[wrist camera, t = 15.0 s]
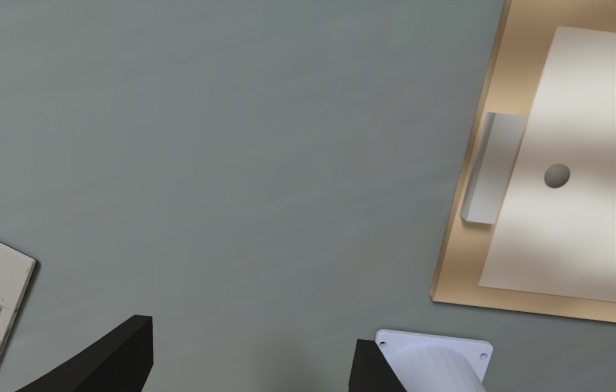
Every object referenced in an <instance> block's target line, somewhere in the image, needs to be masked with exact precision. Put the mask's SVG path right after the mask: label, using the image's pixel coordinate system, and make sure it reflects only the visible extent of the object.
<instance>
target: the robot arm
mask: <svg viewBox="0 0 616 392" xmlns="http://www.w3.org/2000/svg"><path fill="white" fill-rule="evenodd" d="M381 342H385V343H384V344H380V343H381ZM492 351H493V348H492V346H491V344H490V343H489V342H487V341H481V340H472V339H464V338H455V337H446V336H438V335H429V334H420V333H412V332H403V331H394V330H386V329H382V330H379V331H378V332H377V334H376V338H375V341H371V340H362V339H357V344H356V349H355V354H354V359H353V364H352V369H351V374H350V379H349V384H348V385H349V392H486V390H485V388H484V386H483V385H482V381H483V378H484V375H485V372H486V369H487V366H488V363H489V360H490V357H491V354H492ZM483 353H484V354H483ZM481 354H483V355H481ZM153 364H154V363H153V324H152V316H142V315H134V316H132V317H131V318H129V319H128V320H126V321H125V322H123V323H122V324H120V325H119V326H118V327H116V328H115V329H113V330H112V331H111V332H109V333H108V334H106V335H105V336H103V337H102V338H101V339H99V340H98V341H96V342H95V343H93V344H92V345H90V346H89V347H87V348H86V349H84V350H83V351H82V352H80V353H79V354H77V355H75V356H74V357H72V358H71V359H69V360H68V361H66V362H64V363H63V364H61V365H60V366H58V367H56V368H55V369H53V370H52V371H50V372H49V373H47V374H45V375H44V376H42V377H40V378H39V379H37V380H35V381H33V382H32V383H30V384H28V385H26V386H25V387H23V388H21V389H19V390H17V391H15V392H141V391H142V389H143V387H144V384H145V382H146V380H147V378H148V375H149V373H150V371H151V368H152V366H153Z"/></svg>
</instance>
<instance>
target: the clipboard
mask: <svg viewBox="0 0 616 392" xmlns="http://www.w3.org/2000/svg"><path fill="white" fill-rule="evenodd" d="M429 294H430V296H431V298H432V300H433V301H439V302H447V303H456V304H464V305H473V306H482V307H490V308H499V309H507V310H516V311H524V312H533V313H542V314H550V315H559V316H567V317H576V318H584V319H593V320H601V321H610V322H616V0H505V3H504V7H503V11H502V14H501V18H500V22H499V26H498V30H497V34H496V38H495V41H494V45H493V49H492V53H491V57H490V61H489V65H488V69H487V72H486V76H485V80H484V84H483V88H482V92H481V96H480V100H479V103H478V107H477V111H476V115H475V119H474V123H473V127H472V131H471V134H470V138H469V142H468V146H467V150H466V154H465V158H464V162H463V165H462V169H461V173H460V177H459V181H458V185H457V189H456V192H455V196H454V200H453V204H452V208H451V212H450V216H449V220H448V223H447V227H446V231H445V235H444V239H443V243H442V247H441V251H440V254H439V258H438V262H437V266H436V270H435V274H434V278H433V282H432V285H431V289H430V293H429Z"/></svg>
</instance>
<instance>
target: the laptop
mask: <svg viewBox="0 0 616 392" xmlns="http://www.w3.org/2000/svg"><path fill="white" fill-rule="evenodd" d="M35 263H36V262H35V260H34V259H32V258H30V257H28V256H26V255H24V254H22V253H20V252H18V251H16V250H14V249H12V248H10V247H8V246H6V245H4V244H2V243H0V357H1V354H2V352H3V349H4V347H5V344H6V341H7V339H8V336H9V334H10V331H11V328H12V326H13V323H14V320H15V318H16V315H17V312H18V310H19V307H20V304H21V302H22V299H23V296H24V293H25V291H26V288H27V285H28V283H29V280H30V277H31V274H32V272H33V269H34V266H35Z"/></svg>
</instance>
